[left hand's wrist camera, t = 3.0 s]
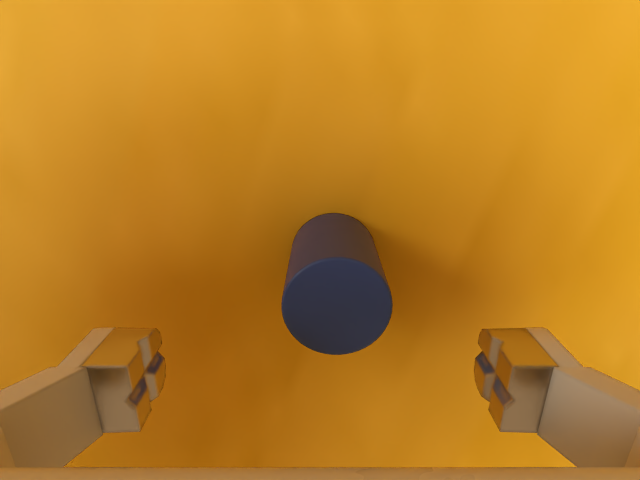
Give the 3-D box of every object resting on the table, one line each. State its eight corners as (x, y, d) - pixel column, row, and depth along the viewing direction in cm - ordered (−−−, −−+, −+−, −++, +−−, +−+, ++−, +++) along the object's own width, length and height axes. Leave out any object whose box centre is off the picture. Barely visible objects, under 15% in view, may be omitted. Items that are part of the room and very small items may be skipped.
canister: (368, 205, 16) (385, 248, 12) (379, 282, 17) (399, 347, 13) (283, 220, 16) (270, 267, 12) (300, 295, 18) (293, 362, 13)
